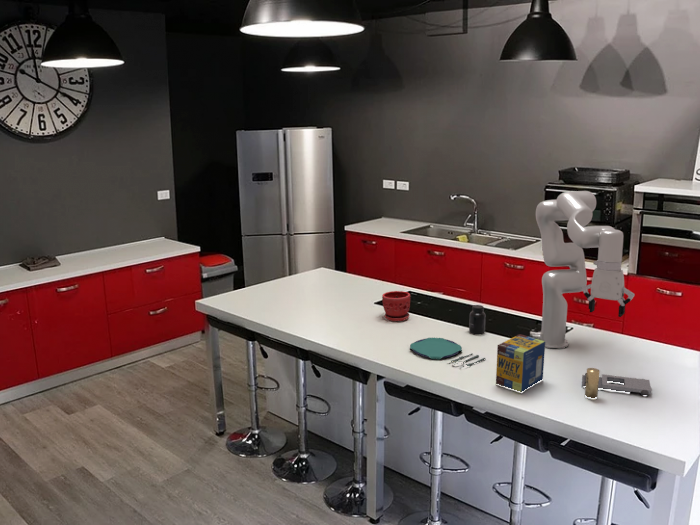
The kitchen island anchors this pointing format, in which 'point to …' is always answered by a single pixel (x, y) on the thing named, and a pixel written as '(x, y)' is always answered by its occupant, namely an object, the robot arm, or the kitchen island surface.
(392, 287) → the kitchen island surface
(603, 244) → the robot arm
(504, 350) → the protein box
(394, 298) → the plant pot
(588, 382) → the brass pin
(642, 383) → the hinged hasp latch
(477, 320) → the supplement bottle
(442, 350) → the cutlery set
